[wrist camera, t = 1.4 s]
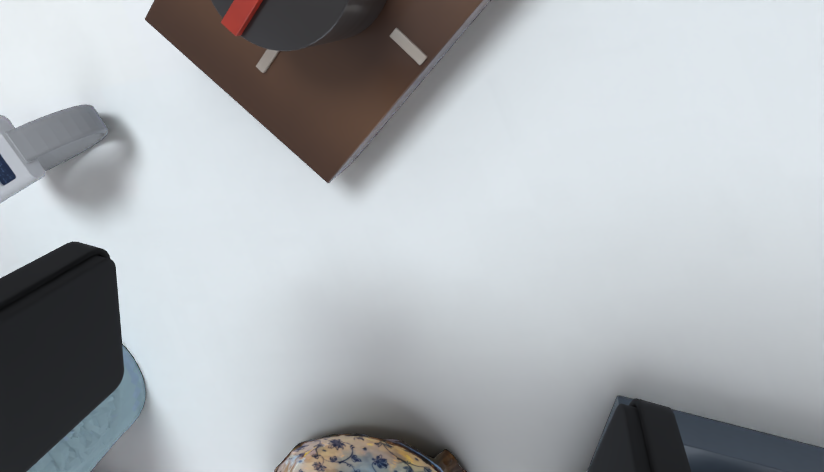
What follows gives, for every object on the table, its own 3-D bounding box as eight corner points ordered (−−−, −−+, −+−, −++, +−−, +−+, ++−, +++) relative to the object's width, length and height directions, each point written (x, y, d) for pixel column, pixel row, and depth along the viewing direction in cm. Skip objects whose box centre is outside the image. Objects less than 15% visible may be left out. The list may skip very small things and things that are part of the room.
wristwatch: (60, 184, 28) (-32, 221, 23) (26, 136, 27) (-76, 164, 23) (143, 135, 26) (58, 165, 21) (108, 81, 25) (13, 100, 20)
